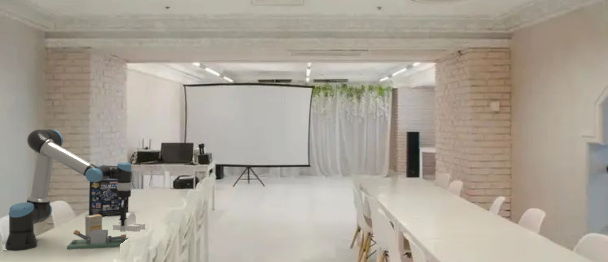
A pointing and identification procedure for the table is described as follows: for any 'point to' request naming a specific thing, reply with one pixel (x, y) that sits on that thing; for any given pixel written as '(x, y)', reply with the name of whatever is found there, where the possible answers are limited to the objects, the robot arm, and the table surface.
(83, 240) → the board
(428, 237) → the table surface
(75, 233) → the block
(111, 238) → the strap
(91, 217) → the supplement box
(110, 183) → the box
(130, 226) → the white slotted holder
